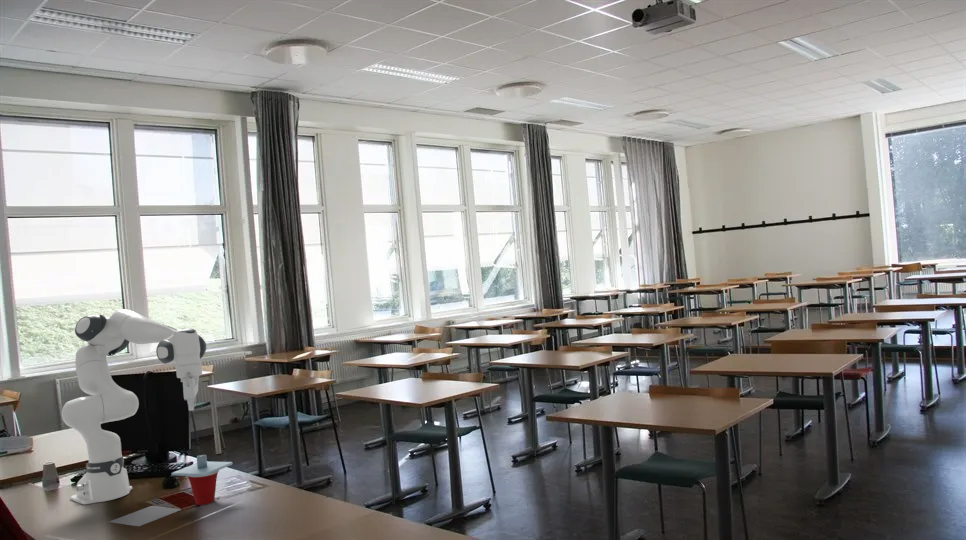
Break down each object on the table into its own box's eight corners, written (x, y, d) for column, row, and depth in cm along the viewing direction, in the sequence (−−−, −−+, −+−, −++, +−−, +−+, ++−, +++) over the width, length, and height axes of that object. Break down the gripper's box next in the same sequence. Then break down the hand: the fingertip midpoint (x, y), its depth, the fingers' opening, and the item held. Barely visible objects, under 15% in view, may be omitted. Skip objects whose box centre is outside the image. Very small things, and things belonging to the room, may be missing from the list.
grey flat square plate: (108, 523, 227) (108, 521, 227) (152, 507, 241) (152, 505, 241) (138, 528, 220) (138, 526, 220) (182, 511, 234) (182, 509, 234)
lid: (171, 475, 236) (170, 461, 236) (201, 463, 249) (200, 450, 249) (203, 476, 231) (202, 462, 231) (232, 464, 244) (231, 450, 244)
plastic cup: (199, 511, 232) (196, 475, 232) (182, 507, 238) (179, 472, 239) (228, 501, 241) (225, 466, 241) (211, 497, 247) (208, 464, 247)
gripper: (196, 373, 248) (199, 411, 248) (200, 368, 267) (203, 403, 267) (177, 375, 246) (180, 414, 246) (182, 370, 265) (185, 405, 265)
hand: (192, 408), depth 256 cm, fingers open, 8 cm apart
